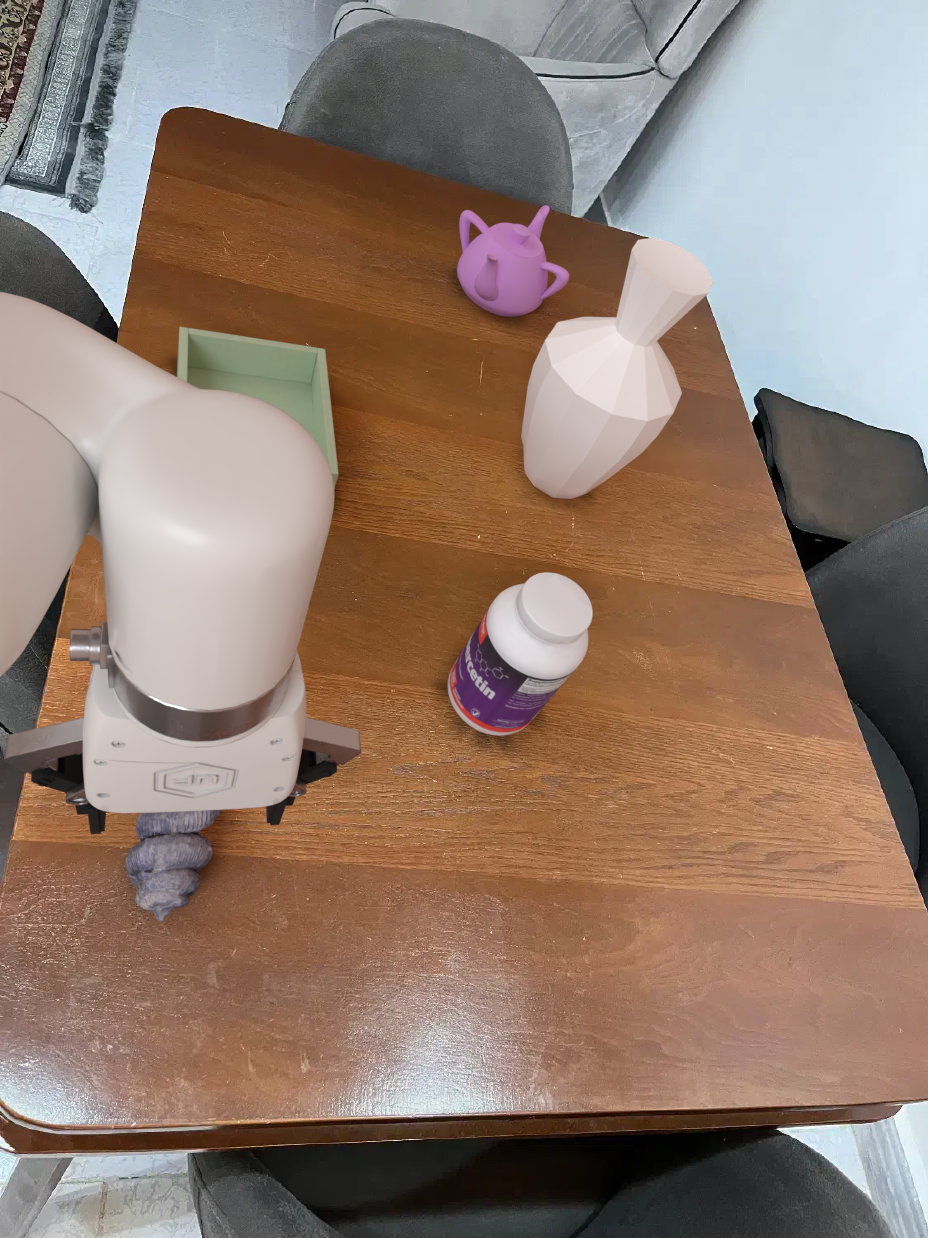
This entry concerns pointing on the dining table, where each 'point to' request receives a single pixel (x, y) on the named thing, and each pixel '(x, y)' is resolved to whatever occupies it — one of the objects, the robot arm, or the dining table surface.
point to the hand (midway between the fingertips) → (188, 805)
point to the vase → (609, 376)
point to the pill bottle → (521, 653)
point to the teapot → (506, 266)
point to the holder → (264, 377)
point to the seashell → (169, 858)
